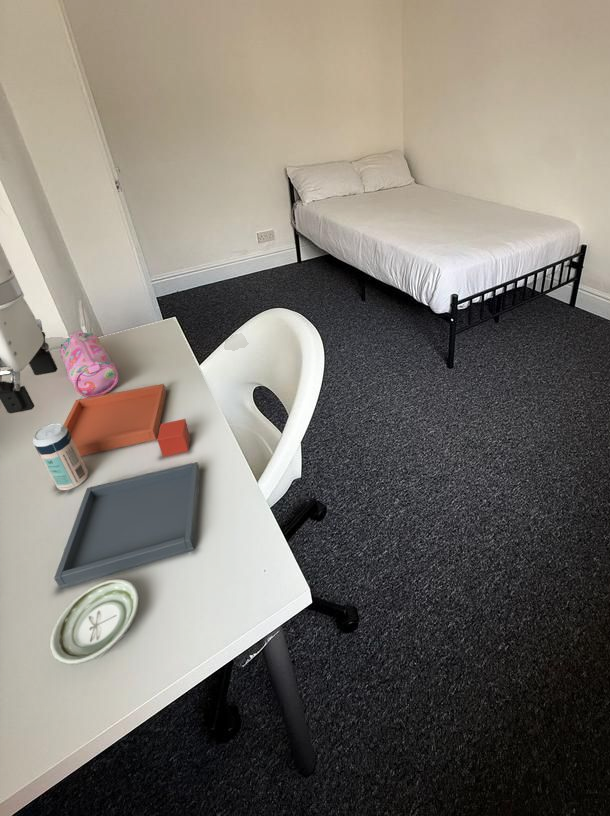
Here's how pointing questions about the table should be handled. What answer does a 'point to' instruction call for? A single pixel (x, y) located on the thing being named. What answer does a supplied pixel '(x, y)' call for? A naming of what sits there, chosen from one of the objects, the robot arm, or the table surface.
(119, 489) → the grey tray
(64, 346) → the pencil case
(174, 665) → the table surface
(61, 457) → the beer can
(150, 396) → the terracotta tray
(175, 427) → the red block
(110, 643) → the saucer
